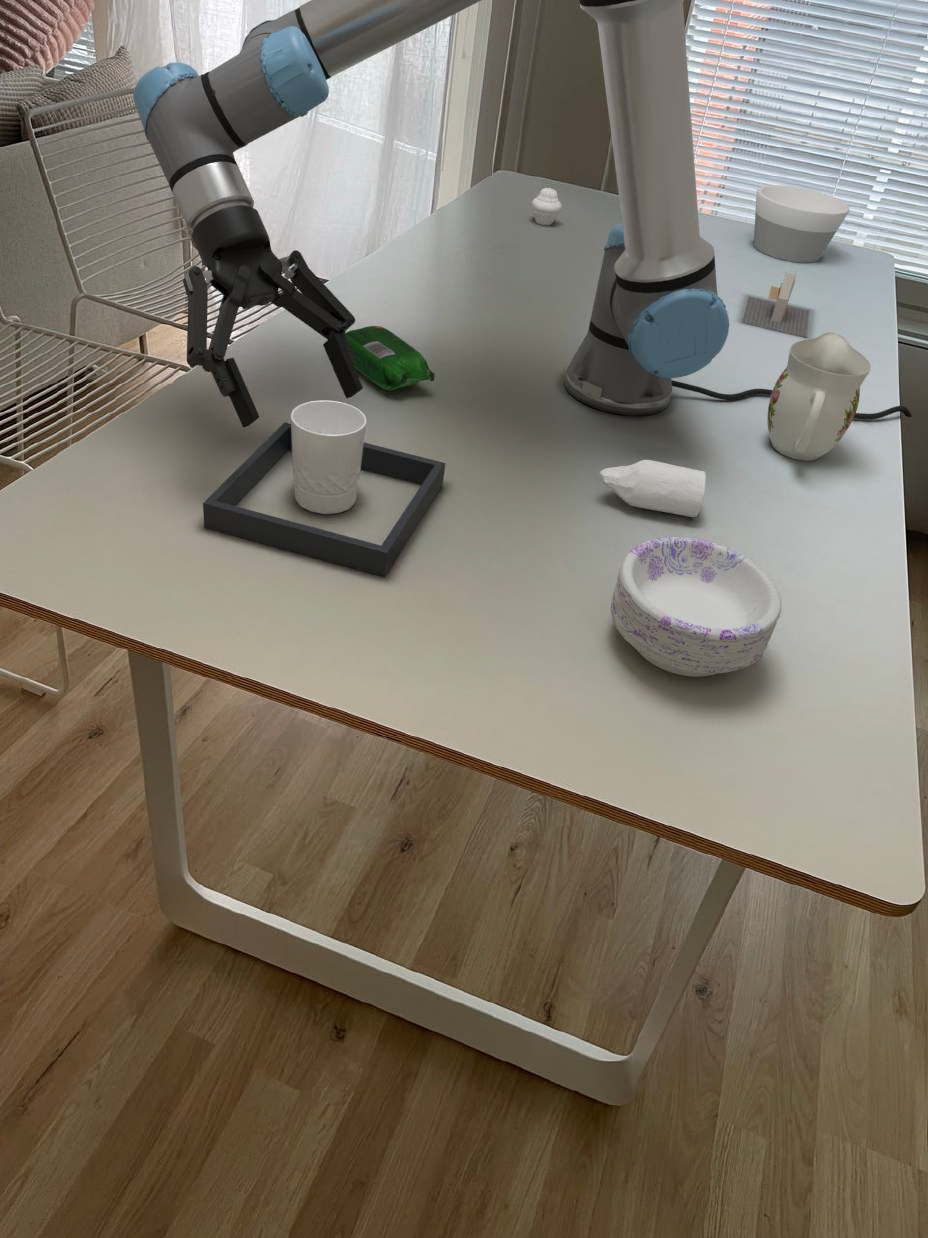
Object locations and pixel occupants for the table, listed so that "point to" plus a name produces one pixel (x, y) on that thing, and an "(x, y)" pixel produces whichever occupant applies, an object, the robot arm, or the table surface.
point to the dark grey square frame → (313, 540)
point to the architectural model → (778, 310)
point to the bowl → (796, 222)
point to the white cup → (327, 454)
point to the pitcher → (816, 396)
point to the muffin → (546, 206)
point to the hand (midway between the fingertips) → (305, 407)
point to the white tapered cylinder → (658, 486)
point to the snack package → (387, 358)
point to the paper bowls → (694, 606)
